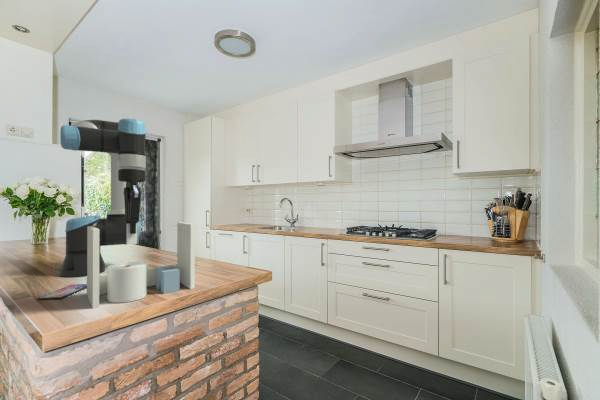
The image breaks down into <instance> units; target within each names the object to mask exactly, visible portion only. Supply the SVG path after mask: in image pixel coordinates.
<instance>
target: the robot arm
mask: <svg viewBox="0 0 600 400" xmlns="http://www.w3.org/2000/svg"><path fill="white" fill-rule="evenodd" d="M59 132H60V135H59V138H60V147H61V148H62V149H63V150H70V151H78V152H79V151H80V152H94V153H106V154H108V155H109V156H110V211H108V212H107V213H106V218H102V217H101V215H99V214H98V215H97V214H96V215H88V216H80V217H75V218H74V217H73V218H70V219H68V220H67V221H66V223H65V230H64V232H65V256H64V259H63V262H62V264H61V267H60V270H59V276H60V277H66V278H68V277H69V278H73V277H74V278H75V277H76V278H77V277H87V226H94V227H96V228H98V229H99V274H100V273H103V272H105V271H106V264H105V261H104V258H103V256H102V252H101V247H104V246H105V247H106V246H117V245H118V246H120V245H121V246H122V245H125V246H126V245H137V244H138V240H139V238H140V235H141V234H140V233H141V228H142V226H141V225H142V219H141V218H142V217H140V209H141V198H142V197H141V195H142V191H141V187H139V185H140V184H139V183H144V182H146V177H147V176H146V175H147V174H146V171H145V169H147V163H146V161H147V160H146V159H147V157H146V137H147V131H146V124H145V122H144V121H142V120H140V119H135V118H121V119H119V120H118V121H117V122H116V121H110V120H102V119H86V120H84V119H83V120H79V121H77V122H75V123H74V124H73V125H67V124H64V125H62V126H61V127H60V131H59Z"/></svg>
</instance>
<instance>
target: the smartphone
mask: <svg viewBox="0 0 600 400" xmlns="http://www.w3.org/2000/svg"><path fill="white" fill-rule="evenodd" d="M81 290H82V291H84V290H87V283H86V284H85V283H83V284H81V283H80V284H70V285H66V286H64V287H62V288H59V289H57V290H54V291H52V292H49V293H46V294H44V295H41V296H40V297H37V299H36V301H60V300H64V299H66V298H68V296H69V297H71V296H73V295H75V294H77V292H78V293H80V292H82V291H81ZM79 291H80V292H79ZM74 293H75V294H74ZM72 294H73V295H72Z"/></svg>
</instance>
